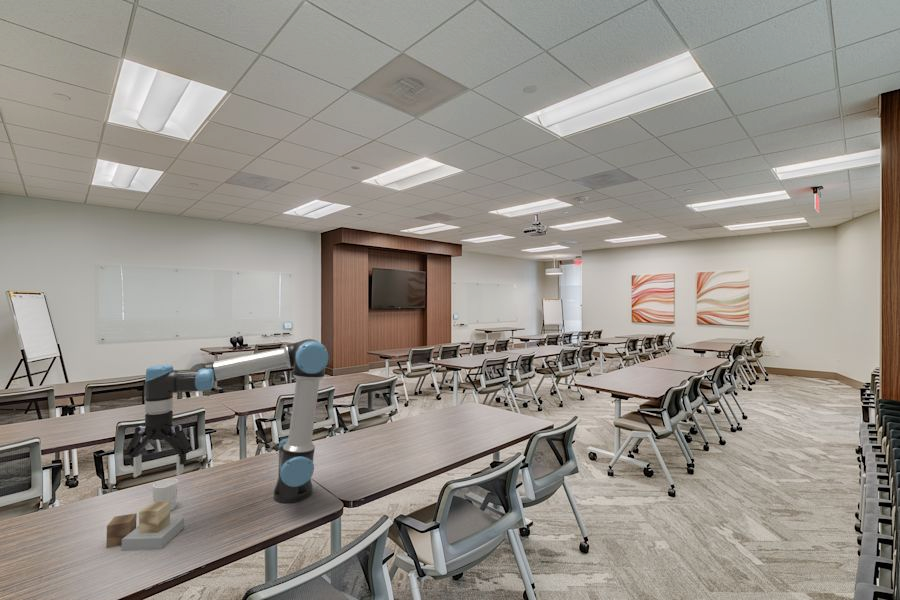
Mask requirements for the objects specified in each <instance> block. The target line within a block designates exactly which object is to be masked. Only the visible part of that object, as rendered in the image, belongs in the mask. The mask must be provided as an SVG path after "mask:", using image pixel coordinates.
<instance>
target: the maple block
mask: <svg viewBox="0 0 900 600" xmlns="http://www.w3.org/2000/svg"><path fill="white" fill-rule="evenodd" d="M170 518H171V511H170V502H153V501H152V502H151V503H149V504H147V505H146V506H144V507H143V508H142V509H140V510H139V511H138V526H139V533H158V532H159V531H160V530H161V529H163V528H164V527H165V526H166V525H167V524H169V523H170Z"/></svg>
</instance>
